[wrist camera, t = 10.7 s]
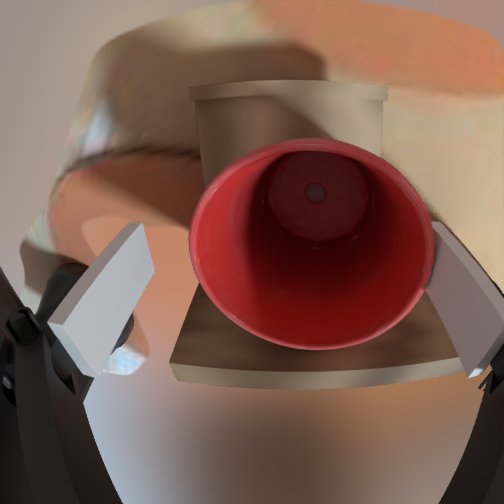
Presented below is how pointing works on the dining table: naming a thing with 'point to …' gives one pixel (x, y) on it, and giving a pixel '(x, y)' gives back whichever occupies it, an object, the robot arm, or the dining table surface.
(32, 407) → the robot arm
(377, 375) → the wooden board
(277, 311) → the flower pot
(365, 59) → the dining table surface
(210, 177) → the small wooden stand
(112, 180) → the dining table surface
